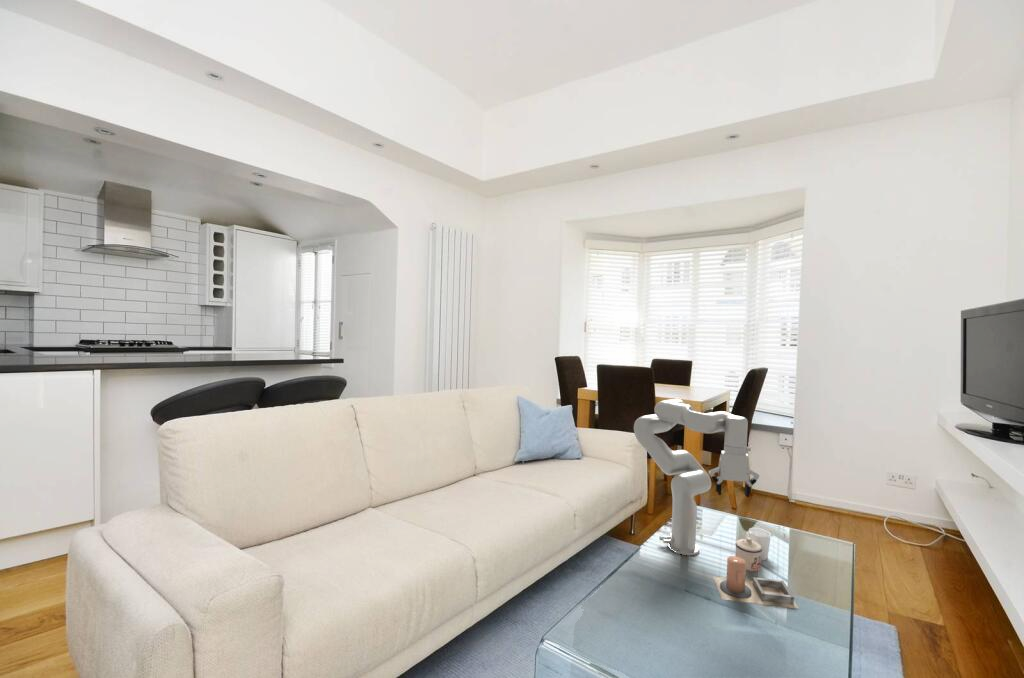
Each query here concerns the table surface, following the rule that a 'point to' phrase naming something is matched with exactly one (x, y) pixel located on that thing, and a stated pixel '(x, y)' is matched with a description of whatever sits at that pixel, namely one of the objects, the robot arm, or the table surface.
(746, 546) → the teacup with lid
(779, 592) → the board
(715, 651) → the table surface
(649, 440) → the robot arm
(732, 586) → the peach rounded peg
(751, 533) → the white cup
